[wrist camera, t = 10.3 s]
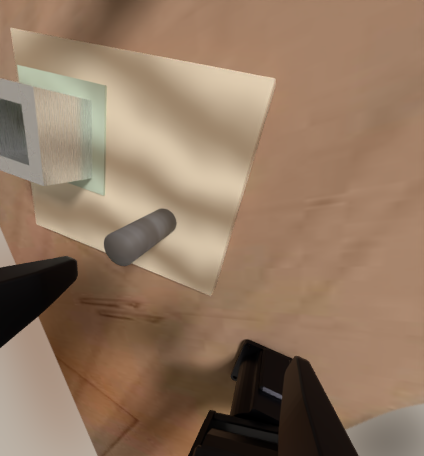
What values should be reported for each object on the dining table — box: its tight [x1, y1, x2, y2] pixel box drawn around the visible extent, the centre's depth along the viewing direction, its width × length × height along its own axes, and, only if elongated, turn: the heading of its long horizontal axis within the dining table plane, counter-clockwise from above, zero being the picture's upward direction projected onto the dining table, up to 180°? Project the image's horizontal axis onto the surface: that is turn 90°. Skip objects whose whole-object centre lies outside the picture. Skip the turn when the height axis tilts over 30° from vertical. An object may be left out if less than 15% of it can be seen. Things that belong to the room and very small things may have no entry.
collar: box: [0, 78, 92, 186], centre depth 17 cm, size 6×6×4 cm
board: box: [10, 28, 276, 296], centre depth 17 cm, size 18×22×8 cm
